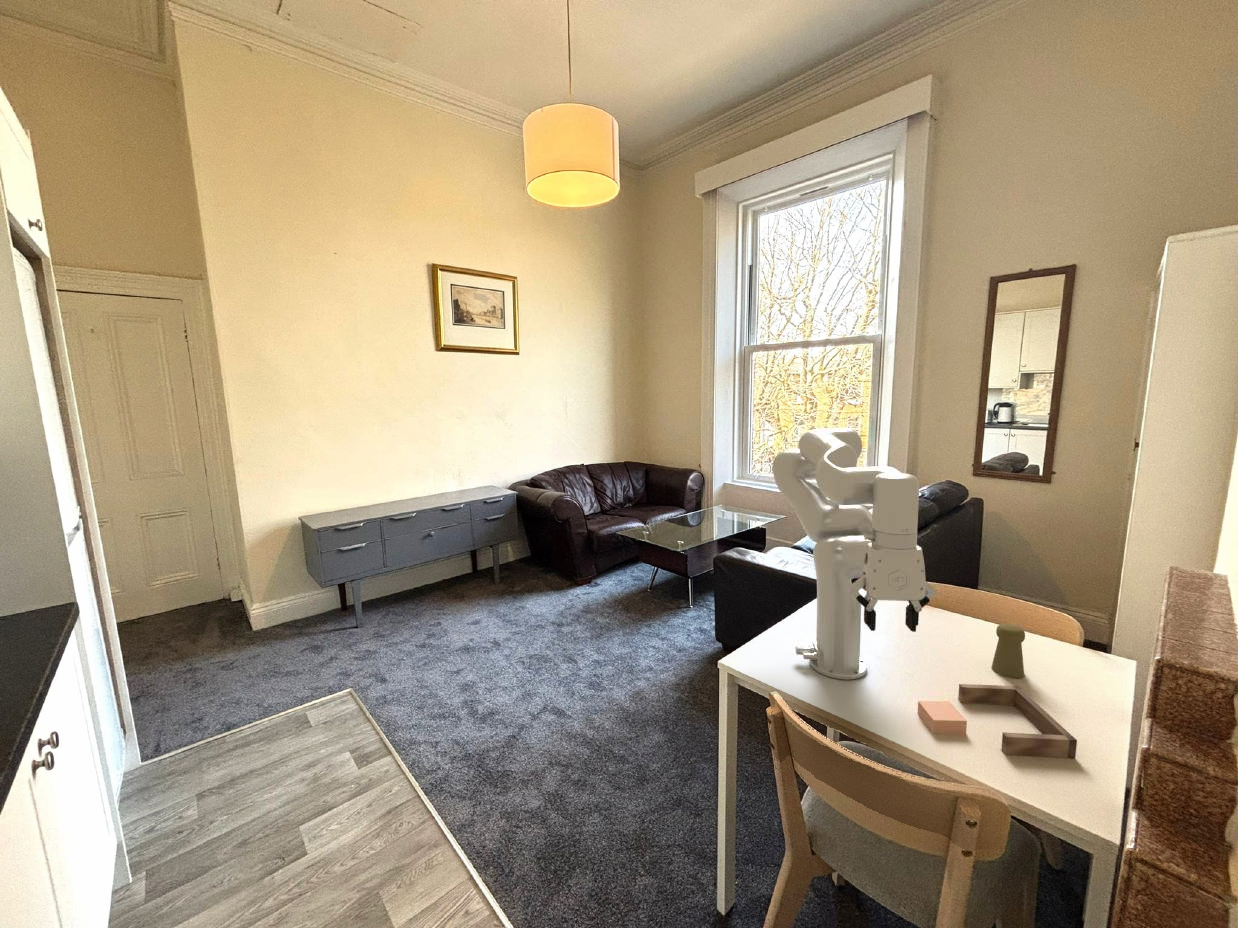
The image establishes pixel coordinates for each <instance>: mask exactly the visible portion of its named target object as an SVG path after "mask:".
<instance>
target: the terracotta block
mask: <svg viewBox="0 0 1238 928" xmlns="http://www.w3.org/2000/svg"><path fill="white" fill-rule="evenodd" d="M917 715H918V716H919V717H920V719H921V720H922V721H923V723H924V724H925V725H926V726H927V728H928V729H929V730H930V732H931V733H933V734H958V735H959V734H962V735H966V734H967V727H968V726H967V724H968V721H967V719H966V718H965V717H964V716H963V715H962V714H961V712H960V711H959V710H958V709H957V708H956V707H955V705H953V703H951V702H950V701H948V700H947V701H943V700H937V701H935V700H918V701H917Z"/></svg>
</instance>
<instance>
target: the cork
mask: <svg viewBox="0 0 1238 928" xmlns="http://www.w3.org/2000/svg"><path fill="white" fill-rule="evenodd" d="M995 633H996V636H997V638H998V639H997V644H996V648H995V651H994V656H993V659H992V663H991V664H992V665H991V670H992V671H993V673H996V675H999V676H1001V677H1004V678H1009V679H1013V680H1020V679H1024V677H1025V667H1024V657H1023V656H1024V655H1023V646H1022V643H1023V642H1024V641H1025V639H1026V633H1025V630H1024V629H1023V627H1020V626H1019V625H1016V624H1013V623H1007V622H1006V623H1000V624H998V625H997V627H996V631H995Z"/></svg>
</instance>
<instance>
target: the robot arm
mask: <svg viewBox="0 0 1238 928" xmlns="http://www.w3.org/2000/svg"><path fill="white" fill-rule="evenodd" d="M797 447H798V448H793V449H787V450H783V451H781V452H779V453H777V454H776V455H775V457H774V459H773V461H772V473H773V478H774V481H775V483H776V486H777V489H778V490H779V492H780V493H781V494H782V496H783V497H784V498H785V500H787V502H788V503H789V504H790V505H791V507H792V509H793V510H794V511H795V514H796V516H797V518H798V520H799V522H800V524H801V526H802V527H803V530H804V532H805V533H806V535H807V537H808V538H809V539H810V541H812V542H814V543H815V545H814V547H813V552H812V555H813V564H814V570H815V576H816V577H815V578H816V641H814V640H813V641H812V645H808V646H802V645H801V646H799V645H796V646H795V654H796V655H797V656H799V655H800V656H802V657H803V660H808V661H809V664H810V666H811V667H812V669H814V670H815V671H816V672H818V673H819V674H822V675H824V676H826V677H829V678H832V679H836V680H845V681H846V680H855V679H856V680H857V679H859V678H863V676H865V675H866V673H867V670H868V664H867V662H866V661H865V659H863V657H861V656H860V655H861V630H862V629H861V625H862V607H863V608H864V609H863V621H864V624H865V625H866V626H867V627H868V629H869V630H870V631H871V632H874V631H876V625H877V624H876V621H877V612H876V610H875V607H876V605H877V603H878V601H889V602H890V601H891V602H892V601H901V602H902V601H903V602H904V601H905V602H908V604H907V605H906V607H905V623H904V624H905V626H906V627H907V628H908V629H909V631H911V632H912V633H916V632H917V626H919V619H920V618H919V617H920V612H922V610H923V608H924V607H926V605H928V604H929V603H930V600H932V599H934V597H936V595H938V594H939V590H937V589H936V588H935V587H934V586H933V585H932V584H930V583H929V582H928V581H926V567H925V560H924V555H923V554H924V553H923V548H922V547H921V546H920V545H918V524H919V523H918V519H919V505H920V504H919V501H920V498H919V497H920V481H919V479H918V477H917V476H915V475H913V474H909V473H904V472H901V471H900V470H899V469H897V468H896V467H893V466H888V465H887V466H886V465H885V466H884V465H883V466H882V465H881V466H878V465H877V466H865V467H864V466H861V467H859V466H858V467H857V464H858V459H859V458H860V456H861V454H862V451H863V441H862V438H861V436H860V435H859V433H858V432H857V431H855V430H854V429H852V428H849V427H837V428H835V427H833V428H816V429H811V430H808V431H806V432H805V433H803V434H802V435H801V436H800V438H799V440H798V446H797ZM809 480H811V481H812V480H815V481H816V484H817V485H815V484H813V483H811V482H810V481H809ZM830 501H831V502H830ZM864 505H872V513H871V511H869V509H868V508H867V507H866V506H864ZM853 579H856V580H855V581H854V582H853V583H852V580H853ZM861 589H863V590H864V591H865V592H866V593H865V595H864V596H863V594H861V593H860V590H861Z"/></svg>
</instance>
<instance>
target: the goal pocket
mask: <svg viewBox="0 0 1238 928" xmlns="http://www.w3.org/2000/svg"><path fill="white" fill-rule="evenodd" d="M957 698H958V699H957V700H958V701H959V702H960V703H961V704H979V705H981V704H982V705H1000V706H1001V705H1002V706H1003V705H1005V706H1006V705H1007V706H1015V707H1016V709H1017V710H1019V711H1020V712H1021V714H1022V715H1024V717H1026V719H1028V720H1029V722H1031V723H1032V724H1033V725H1034V727H1036V729H1038V731H1040V732H1041V734H1040V733H1024V732H1022V733H1021V732H1002V737H1001V749H1000V750H1001V752H1002V753H1003V754H1004V755H1006V756H1021V757H1022V756H1025V757H1043V758H1059V759H1061V758H1062V759H1076V755H1077V747H1078V746H1077V745H1078V744H1077V743H1078V739H1076V738H1075V737H1074V736H1073V734H1071V733H1069V731H1067V729H1065V727H1063V726H1062V724H1060V723H1059V722H1058V721H1057V720H1056V719H1055V718H1053V716H1051V715H1050V714H1049V713H1048V712H1047V711H1046V710H1045V709H1044V708H1043V707H1041V706H1040V705H1039V704H1038V703H1037V702H1036V701H1035V700H1034V699H1033V698H1032V697H1031V696H1030V695H1028V694H1027V693H1026V692H1025V691H1024V690H1023V689H1022V688H1021V687H1020V686H1018V685H997V684H996V685H995V684H973V683H972V684H967V683H959V684H958V697H957Z"/></svg>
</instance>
